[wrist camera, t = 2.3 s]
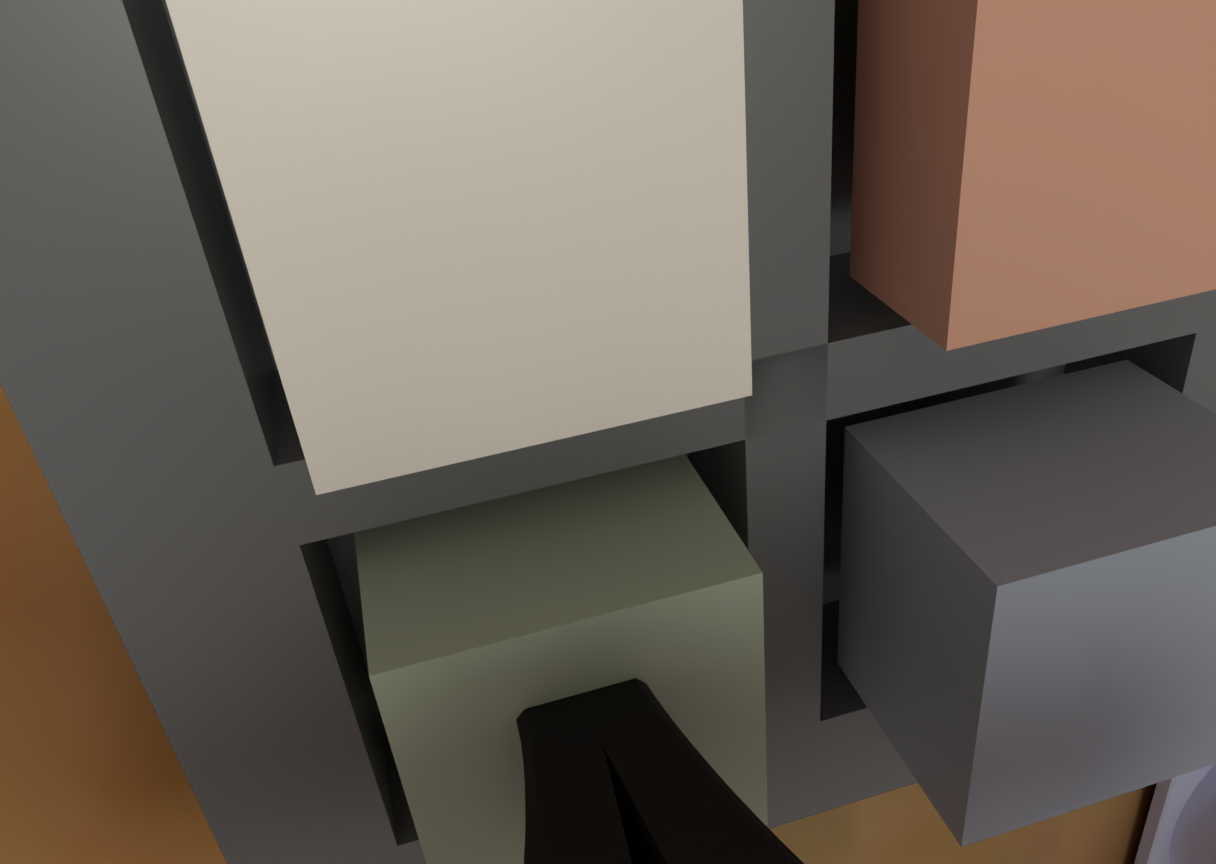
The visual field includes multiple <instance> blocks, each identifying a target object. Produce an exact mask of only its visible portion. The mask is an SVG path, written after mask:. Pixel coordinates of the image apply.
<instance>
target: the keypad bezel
mask: <svg viewBox="0 0 1216 864" xmlns="http://www.w3.org/2000/svg"><path fill="white" fill-rule="evenodd" d="M857 29H858V0H743V33H744V74H745V115H746V156H747V197H748V238H749V279H750V320H751V361H752V396H747V397H743V398H739V399H734V400H730V401H725V402H721V403H717V404H712V405H708V406H704V407H699V408H695V409H690V410H686V411H682V412H677V413H673V414H669V415H664V416H660V417H656V418H651V419H647V420H642V421H638V422H634V423H629V424H625V425H621V426H616V427H612V428H607V429H603V430H599V431H594V432H590V433H586V434H581V435H577V436H573V437H568V438H564V439H559V440H555V441H551V442H546V443H542V444H538V445H533V446H529V447H524V448H520V449H516V450H511V451H507V452H503V453H498V454H494V455H490V456H485V457H481V458H476V459H472V460H468V461H463V462H459V463H455V464H450V465H446V466H441V467H437V468H433V469H428V470H424V471H420V472H415V473H411V474H407V475H402V476H398V477H393V478H389V479H385V480H380V481H376V482H372V483H367V484H363V485H358V486H354V487H350V488H345V489H341V490H337V491H332V492H328V493H324V494H319V495H316V493H315V490H314V486H313V483H312V480H311V477H310V473H309V470H308V467H307V463H306V460H305V457H304V454H303V450H302V447H301V444H300V440H299V437H298V434H297V431H296V427H295V424H294V421H293V417H292V414H291V411H290V408H289V404H288V401H287V398H286V394H285V391H284V388H283V385H282V381H281V378H280V375H279V371H278V368H277V365H276V362H275V358H274V355H273V352H272V348H271V345H270V342H269V339H268V335H267V332H266V329H265V325H264V322H263V319H262V316H261V312H260V309H259V306H258V302H257V299H256V296H255V293H254V289H253V286H252V283H251V280H250V276H249V273H248V270H247V266H246V263H245V260H244V257H243V253H242V250H241V247H240V243H239V240H238V237H237V234H236V230H235V227H234V224H233V220H232V217H231V214H230V211H229V207H228V204H227V201H226V197H225V194H224V191H223V188H222V184H221V181H220V178H219V174H218V171H217V168H216V165H215V161H214V158H213V155H212V151H211V148H210V145H209V142H208V138H207V135H206V132H205V128H204V125H203V122H202V119H201V115H200V112H199V109H198V105H197V102H196V99H195V96H194V92H193V89H192V86H191V82H190V79H189V76H188V73H187V69H186V66H185V63H184V59H183V56H182V53H181V50H180V46H179V43H178V40H177V37H176V33H175V30H174V27H173V23H172V20H171V17H170V14H169V10H168V7H167V4H166V0H0V384H1V386H2V388H3V390H4V392H5V394H6V396H7V398H8V400H9V403H10V405H11V407H12V409H13V411H14V413H15V415H16V417H17V420H18V422H19V424H20V426H21V428H22V430H23V432H24V434H25V436H26V439H27V441H28V443H29V445H30V447H31V449H32V451H33V453H34V456H35V458H36V460H37V462H38V464H39V466H40V468H41V470H42V472H43V475H44V477H45V479H46V481H47V483H48V485H49V487H50V489H51V491H52V494H53V496H54V498H55V500H56V502H57V504H58V506H59V508H60V511H61V513H62V515H63V517H64V519H65V521H66V523H67V525H68V527H69V530H70V532H71V534H72V536H73V538H74V540H75V542H76V544H77V547H78V549H79V551H80V553H81V555H82V557H83V559H84V561H85V563H86V566H87V568H88V570H89V572H90V574H91V576H92V578H93V580H94V583H95V585H96V587H97V589H98V591H99V593H100V595H101V597H102V599H103V602H104V604H105V606H106V608H107V610H108V612H109V614H110V616H111V618H112V621H113V623H114V625H115V627H116V629H117V631H118V633H119V635H120V638H121V640H122V642H123V644H124V646H125V648H126V650H127V652H128V654H129V657H130V659H131V661H132V663H133V665H134V667H135V669H136V671H137V674H138V676H139V678H140V680H141V682H142V684H143V686H144V688H145V690H146V693H147V695H148V697H149V699H150V701H151V703H152V705H153V707H154V710H155V712H156V714H157V716H158V718H159V720H160V722H161V724H162V726H163V729H164V731H165V733H166V735H167V737H168V739H169V741H170V743H171V745H172V748H173V750H174V752H175V754H176V756H177V758H178V760H179V762H180V765H181V767H182V769H183V771H184V773H185V775H186V777H187V779H188V781H189V784H190V786H191V788H192V790H193V792H194V794H195V796H196V798H197V801H198V803H199V805H200V807H201V809H202V811H203V813H204V815H205V817H206V820H207V822H208V824H209V826H210V828H211V830H212V832H213V834H214V836H215V839H216V841H217V843H218V845H219V847H220V849H221V851H222V853H223V856H224V858H225V860H226V862H227V864H426V861H425V858H424V854H423V851H422V848H421V845H420V841H419V838H418V835H417V832H416V828H415V825H414V822H413V818H412V815H411V812H410V809H409V805H408V802H407V799H406V796H405V792H404V789H403V786H402V783H401V779H400V776H399V773H398V770H397V766H396V763H395V760H394V756H393V753H392V750H391V747H390V743H389V740H388V737H387V734H386V730H385V727H384V724H383V721H382V717H381V714H380V711H379V707H378V704H377V701H376V698H375V694H374V691H373V688H372V685H371V681H370V678H369V672H368V662H367V652H366V643H365V633H364V623H363V614H362V604H361V594H360V584H359V575H358V565H357V555H356V545H355V536H354V532H358V531H362V530H367V529H371V528H375V527H379V526H383V525H388V524H392V523H396V522H400V521H405V520H409V519H413V518H417V517H421V516H426V515H430V514H434V513H438V512H443V511H447V510H451V509H455V508H459V507H464V506H468V505H472V504H476V503H480V502H485V501H489V500H493V499H497V498H502V497H506V496H510V495H514V494H518V493H523V492H527V491H531V490H535V489H540V488H544V487H548V486H552V485H556V484H561V483H565V482H569V481H573V480H578V479H582V478H586V477H590V476H594V475H599V474H603V473H607V472H611V471H616V470H620V469H624V468H628V467H632V466H637V465H641V464H645V463H649V462H654V461H658V460H662V459H666V458H670V457H675V456H679V455H683V454H685V455H686V456H687V458H688V459H689V461H690V462H691V464H692V465H693V467H694V468H695V470H696V471H697V473H698V475H699V476H700V478H701V479H702V481H703V482H704V484H705V485H706V487H707V488H708V490H709V491H710V493H711V494H712V496H713V497H714V499H715V501H716V502H717V504H718V505H719V507H720V508H721V510H722V511H723V513H724V514H725V516H726V517H727V519H728V520H729V522H730V523H731V525H732V527H733V528H734V530H735V531H736V533H737V534H738V536H739V537H740V539H741V540H742V542H743V543H744V545H745V546H746V548H747V549H748V551H749V553H750V554H751V556H752V557H753V559H754V560H755V562H756V563H757V565H758V566H759V568H760V569H761V571H762V572H763V612H764V661H765V710H766V760H767V809H768V825H766V826H767V827H768V828H773V827H776V826H779V825H782V824H785V823H789V822H792V821H795V820H798V819H801V818H805V817H808V816H811V815H814V814H817V813H821V812H824V811H827V810H830V809H833V808H837V807H840V806H843V805H846V804H849V803H853V802H856V801H859V800H862V799H865V798H869V797H872V796H875V795H878V794H882V793H885V792H888V791H891V790H894V789H898V788H901V787H904V786H907V785H910V784H914V783H917V780H916V779H915V777H914V776H913V774H912V773H911V771H910V770H909V769H908V767H907V766H906V764H905V763H904V761H903V760H902V758H901V757H900V755H899V754H898V752H897V751H896V749H895V748H894V746H893V745H892V743H891V742H890V740H889V739H888V737H887V736H886V734H885V733H884V731H883V730H882V728H881V727H880V725H879V724H878V722H877V721H876V719H875V718H874V717H873V715H872V714H871V712H870V711H869V709H868V708H867V706H866V705H865V703H864V702H863V700H862V699H861V697H860V696H859V694H858V693H857V691H856V690H855V688H854V687H853V685H852V684H851V682H850V681H849V679H848V678H847V676H846V675H845V673H844V672H843V670H842V669H841V667H840V666H839V665H838V663H837V658H838V627H839V595H840V564H841V532H842V501H843V469H844V438H845V427H846V426H851V425H855V424H859V423H863V422H867V421H872V420H876V419H880V418H884V417H888V416H892V415H897V414H901V413H905V412H909V411H913V410H918V409H922V408H926V407H930V406H934V405H938V404H943V403H947V402H951V401H955V400H959V399H964V398H968V397H972V396H976V395H980V394H985V393H989V392H993V391H997V390H1001V389H1005V388H1010V387H1014V386H1018V385H1022V384H1026V383H1031V382H1035V381H1039V380H1043V379H1047V378H1051V377H1056V376H1060V375H1064V374H1068V373H1072V372H1077V371H1081V370H1085V369H1089V368H1093V367H1097V366H1102V365H1106V364H1110V363H1114V362H1118V361H1123V360H1129V361H1130V362H1132V363H1133V364H1135V365H1137V366H1138V367H1140V368H1141V369H1143V370H1145V371H1146V372H1148V373H1150V374H1151V375H1153V376H1154V377H1156V378H1158V379H1159V380H1161V381H1163V382H1164V383H1166V384H1167V385H1169V386H1171V387H1172V388H1174V389H1176V390H1177V391H1179V392H1180V393H1182V394H1184V395H1185V396H1187V397H1189V398H1190V399H1192V400H1193V401H1195V402H1197V403H1198V404H1200V405H1202V406H1203V407H1205V408H1206V409H1208V410H1210V411H1211V412H1213V413H1214V414H1216V289H1215V290H1210V291H1206V292H1202V293H1197V294H1193V295H1189V296H1184V297H1180V298H1175V299H1171V300H1167V301H1162V302H1158V303H1154V304H1149V305H1145V306H1140V307H1136V308H1132V309H1127V310H1123V311H1119V312H1114V313H1110V314H1106V315H1101V316H1097V317H1092V318H1088V319H1084V320H1079V321H1075V322H1071V323H1066V324H1062V325H1057V326H1053V327H1049V328H1044V329H1040V330H1036V331H1031V332H1027V333H1023V334H1018V335H1014V336H1009V337H1005V338H1001V339H996V340H992V341H988V342H983V343H979V344H974V345H970V346H966V347H961V348H957V349H953V350H948V351H946V350H945V349H943V348H942V347H941V346H939V345H938V344H937V343H935V342H934V341H933V340H932V339H930V338H929V337H928V336H926V335H925V334H924V333H922V332H921V331H920V330H919V329H917V328H916V327H915V326H913V325H912V324H911V323H910V322H908V321H907V320H906V319H904V318H903V317H902V316H900V315H899V314H898V313H897V312H895V311H894V310H893V309H891V308H890V307H889V306H887V305H886V304H885V303H884V302H882V301H881V300H880V299H878V298H877V297H876V296H875V295H873V294H872V293H871V292H869V291H868V290H867V289H865V288H864V287H863V286H862V285H860V284H859V283H858V282H856V281H855V280H854V279H852V278H851V277H850V249H851V217H852V186H853V155H854V123H855V92H856V60H857Z"/></svg>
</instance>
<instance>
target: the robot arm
mask: <svg viewBox="0 0 1216 864" xmlns="http://www.w3.org/2000/svg"><path fill="white" fill-rule="evenodd" d="M516 722H517V726H518V731H519V736H520V741H521V747H522V755H523V765H524V779H525V847H524V864H804V863H803V862H802V861H801V860H800V859H799V858H798V857H797V856H796V855H795V854H794V853H793V852H792V851H791V850H790V849H788V848H787V847H786V846H785V845H784V844H783V843H782V842H781V841H780V840H779V839H778V838H777V837H776V836H775V835H774V834H773V833H772V832H771V830H770V829H769V828H768V827H767V826H766V825H765V824H764V823H763V822H762V821H761V820H760V819H759V818H758V817H757V816H756V815H755V814H754V813H753V812H752V810H751V809H750V808H749V807H748V806H747V805H746V804H745V803H744V802H743V801H742V800H741V799H740V798H739V797H738V796H737V795H736V794H735V793H734V792H733V790H732V789H731V788H730V787H729V786H728V785H727V784H726V783H725V782H724V780H723V779H722V778H721V777H720V776H719V775H718V774H717V773H716V772H715V770H714V769H713V768H712V767H711V766H710V765H709V763H708V762H707V761H706V760H705V759H704V758H703V756H702V755H701V754H700V753H699V752H698V750H697V749H696V748H695V747H694V746H693V745H692V743H691V742H690V741H689V740H688V739H687V737H686V736H685V735H684V734H683V732H682V731H681V730H680V729H679V727H678V726H677V725H676V724H675V722H674V721H673V720H672V718H671V717H670V716H669V715H668V713H667V712H666V711H665V709H664V708H663V706H662V705H661V704H660V702H659V701H658V700H657V698H656V697H655V696H654V694H653V693H652V691H651V690H650V688H649V687H648V685H647V684H646V683H644V682H643V681H641V680H639V679H637V678H634V679H631V680H627V681H623V682H620V683H616V684H613V685H609V686H605V687H602V688H598V689H595V690H591V691H588V692H584V693H580V694H577V695H573V696H569V697H566V698H562V699H559V700H555V701H551V702H548V703H544V704H541V705H537V706H533V707H530V708H526V709H524V711H523V712H522V713H521V714H520V715H519V716H518V718H517V719H516ZM1134 864H1216V764H1213V765H1210V766H1207V767H1204V768H1201V769H1198V770H1195V771H1192V772H1189V773H1186V774H1183V775H1180V776H1177V777H1174V778H1171V779H1168V780H1165V781H1162V782H1159V783H1157V784H1156V788H1155V791H1154V795H1153V799H1152V802H1151V806H1150V809H1149V813H1148V816H1147V820H1146V823H1145V827H1144V830H1143V834H1142V837H1141V841H1140V844H1139V848H1138V851H1137V855H1136V858H1135V862H1134Z"/></svg>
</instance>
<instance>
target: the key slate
mask: <svg viewBox="0 0 1216 864" xmlns="http://www.w3.org/2000/svg"><path fill="white" fill-rule="evenodd" d="M837 663H838V665H839V666H840V667H841V669H842V670H843V672H844V673H845V675H846V676H847V678H848V679H849V681H850V682H851V684H852V685H853V687H854V688H855V690H856V691H857V693H858V694H859V696H860V697H861V699H862V700H863V702H864V703H865V705H866V706H867V708H868V709H869V711H870V712H871V714H872V715H873V717H874V718H875V719H876V721H877V722H878V724H879V725H880V727H881V728H882V730H883V731H884V733H885V734H886V736H887V737H888V739H889V740H890V742H891V743H892V745H893V746H894V748H895V749H896V751H897V752H898V754H899V755H900V757H901V758H902V760H903V761H904V763H905V764H906V766H907V767H908V769H909V770H910V771H911V773H912V774H913V776H914V777H915V779H916V780H917V782H918V783H919V785H920V786H921V788H922V789H923V791H924V792H925V794H926V795H927V797H928V798H929V800H930V801H931V803H932V804H933V806H934V807H935V809H936V810H937V812H938V813H939V815H940V816H941V818H942V819H943V820H944V822H945V823H946V825H947V826H948V828H949V829H950V831H951V832H952V834H953V835H954V837H955V838H956V840H957V841H958V843H959V844H960V846H961V847H963V846H966V845H969V844H972V843H975V842H978V841H981V840H984V839H987V838H990V837H994V836H997V835H1000V834H1003V833H1006V832H1009V831H1012V830H1015V829H1018V828H1021V827H1024V826H1027V825H1030V824H1033V823H1036V822H1039V821H1042V820H1045V819H1049V818H1052V817H1055V816H1058V815H1061V814H1064V813H1067V812H1070V811H1073V810H1076V809H1079V808H1082V807H1085V806H1088V805H1091V804H1094V803H1097V802H1100V801H1104V800H1107V799H1110V798H1113V797H1116V796H1119V795H1122V794H1125V793H1128V792H1131V791H1134V790H1137V789H1140V788H1143V787H1146V786H1149V785H1152V784H1155V783H1159V782H1162V781H1165V780H1168V779H1171V778H1174V777H1177V776H1180V775H1183V774H1186V773H1189V772H1192V771H1195V770H1198V769H1201V768H1204V767H1207V766H1210V765H1213V764H1216V414H1214V413H1213V412H1211V411H1210V410H1208V409H1206V408H1205V407H1203V406H1202V405H1200V404H1198V403H1197V402H1195V401H1193V400H1192V399H1190V398H1189V397H1187V396H1185V395H1184V394H1182V393H1180V392H1179V391H1177V390H1176V389H1174V388H1172V387H1171V386H1169V385H1167V384H1166V383H1164V382H1163V381H1161V380H1159V379H1158V378H1156V377H1154V376H1153V375H1151V374H1150V373H1148V372H1146V371H1145V370H1143V369H1141V368H1140V367H1138V366H1137V365H1135V364H1133V363H1132V362H1130V361H1129V360H1123V361H1118V362H1114V363H1110V364H1106V365H1102V366H1097V367H1093V368H1089V369H1085V370H1081V371H1077V372H1072V373H1068V374H1064V375H1060V376H1056V377H1051V378H1047V379H1043V380H1039V381H1035V382H1031V383H1026V384H1022V385H1018V386H1014V387H1010V388H1005V389H1001V390H997V391H993V392H989V393H985V394H980V395H976V396H972V397H968V398H964V399H959V400H955V401H951V402H947V403H943V404H938V405H934V406H930V407H926V408H922V409H918V410H913V411H909V412H905V413H901V414H897V415H892V416H888V417H884V418H880V419H876V420H872V421H867V422H863V423H859V424H855V425H851V426H846V427H845V438H844V469H843V501H842V532H841V564H840V595H839V627H838V658H837Z"/></svg>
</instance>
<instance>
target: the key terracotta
mask: <svg viewBox="0 0 1216 864" xmlns="http://www.w3.org/2000/svg"><path fill="white" fill-rule="evenodd" d="M850 277H851V278H852V279H854V280H855V281H856V282H858V283H859V284H860V285H862V286H863V287H864V288H865V289H867V290H868V291H869V292H871V293H872V294H873V295H875V296H876V297H877V298H878V299H880V300H881V301H882V302H884V303H885V304H886V305H887V306H889V307H890V308H891V309H893V310H894V311H895V312H897V313H898V314H899V315H900V316H902V317H903V318H904V319H906V320H907V321H908V322H910V323H911V324H912V325H913V326H915V327H916V328H917V329H919V330H920V331H921V332H922V333H924V334H925V335H926V336H928V337H929V338H930V339H932V340H933V341H934V342H935V343H937V344H938V345H939V346H941V347H942V348H943V349H945V350H946V351H948V350H953V349H957V348H961V347H966V346H970V345H974V344H979V343H983V342H988V341H992V340H996V339H1001V338H1005V337H1009V336H1014V335H1018V334H1023V333H1027V332H1031V331H1036V330H1040V329H1044V328H1049V327H1053V326H1057V325H1062V324H1066V323H1071V322H1075V321H1079V320H1084V319H1088V318H1092V317H1097V316H1101V315H1106V314H1110V313H1114V312H1119V311H1123V310H1127V309H1132V308H1136V307H1140V306H1145V305H1149V304H1154V303H1158V302H1162V301H1167V300H1171V299H1175V298H1180V297H1184V296H1189V295H1193V294H1197V293H1202V292H1206V291H1210V290H1215V289H1216V0H858V29H857V60H856V92H855V123H854V155H853V186H852V217H851V249H850Z"/></svg>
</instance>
